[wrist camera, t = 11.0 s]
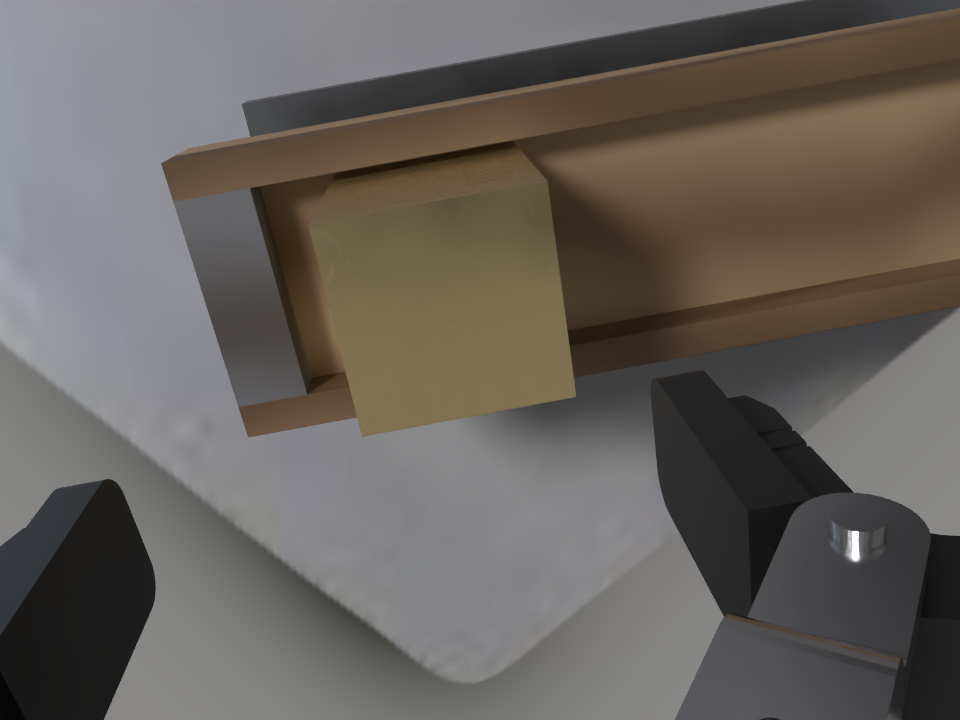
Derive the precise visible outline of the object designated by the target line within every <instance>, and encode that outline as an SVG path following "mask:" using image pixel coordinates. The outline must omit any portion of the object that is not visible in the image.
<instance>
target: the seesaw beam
mask: <svg viewBox="0 0 960 720" xmlns="http://www.w3.org/2000/svg"><path fill="white" fill-rule="evenodd" d="M508 143H515V144H516V146H517V147H518V148H519V149H520V150H521V151H522V152H523V154H524V155H525V156H526V157H527V158H528V159H529V160H530V162H531V163H532V164H533V165H534V166H535V167H536V168H537V170H538V171H539V172H540V173H541V174H542V175H543V176H544V178H545V179H546V180H547V182H548V189H549V197H550V204H551V212H552V219H553V227H554V234H555V241H556V249H557V256H558V264H559V271H560V279H561V286H562V294H563V301H564V309H565V316H566V324H567V331H568V338H569V346H570V353H571V361H572V368H573V376H574V377H578V376H584V375H589V374H594V373H600V372H605V371H611V370H616V369H622V368H627V367H632V366H638V365H643V364H649V363H654V362H659V361H665V360H670V359H676V358H681V357H687V356H692V355H697V354H703V353H708V352H714V351H719V350H725V349H730V348H735V347H741V346H746V345H752V344H757V343H762V342H768V341H773V340H779V339H784V338H790V337H795V336H800V335H806V334H811V333H817V332H822V331H828V330H833V329H838V328H844V327H849V326H855V325H860V324H865V323H871V322H876V321H882V320H887V319H893V318H898V317H903V316H909V315H914V314H920V313H925V312H931V311H936V310H941V309H947V308H952V307H958V306H960V8H957V9H951V10H946V11H940V12H935V13H929V14H924V15H918V16H913V17H907V18H902V19H896V20H891V21H885V22H880V23H874V24H869V25H863V26H858V27H852V28H847V29H842V30H836V31H831V32H825V33H820V34H814V35H809V36H803V37H798V38H792V39H787V40H781V41H776V42H770V43H765V44H759V45H754V46H748V47H743V48H737V49H732V50H726V51H721V52H715V53H710V54H704V55H699V56H693V57H688V58H682V59H677V60H671V61H666V62H660V63H655V64H649V65H644V66H638V67H633V68H627V69H622V70H616V71H611V72H605V73H600V74H594V75H589V76H583V77H578V78H572V79H567V80H561V81H556V82H550V83H545V84H539V85H534V86H528V87H523V88H517V89H512V90H506V91H501V92H495V93H490V94H484V95H479V96H473V97H468V98H462V99H457V100H451V101H446V102H440V103H435V104H429V105H424V106H418V107H413V108H407V109H402V110H396V111H391V112H385V113H380V114H374V115H369V116H363V117H358V118H352V119H347V120H341V121H336V122H330V123H325V124H319V125H314V126H308V127H303V128H297V129H292V130H286V131H281V132H275V133H270V134H264V135H259V136H253V137H248V138H242V139H237V140H231V141H226V142H220V143H215V144H209V145H204V146H198V147H193V148H189V149H187V150H185V151H183V152H181V153H180V154H178V155H176V156H174V157H172V158H170V159H168V160H167V161H165V162H163V163H161V164H162V167H163V170H164V173H165V177H166V180H167V183H168V186H169V189H170V192H171V195H172V199H173V202H174V205H175V208H176V211H177V214H178V218H179V221H180V224H181V227H182V230H183V233H184V236H185V240H186V243H187V246H188V249H189V252H190V255H191V258H192V262H193V265H194V268H195V271H196V274H197V277H198V281H199V284H200V287H201V290H202V293H203V296H204V299H205V303H206V306H207V309H208V312H209V315H210V318H211V321H212V325H213V328H214V331H215V334H216V337H217V340H218V344H219V347H220V350H221V353H222V356H223V359H224V362H225V366H226V369H227V372H228V375H229V378H230V381H231V384H232V388H233V391H234V394H235V397H236V400H237V403H238V407H239V410H240V413H241V416H242V419H243V422H244V425H245V429H246V432H247V435H248V437H253V436H258V435H264V434H269V433H275V432H280V431H285V430H291V429H296V428H302V427H307V426H313V425H318V424H323V423H329V422H334V421H340V420H345V419H351V418H356V417H357V415H356V411H355V407H354V403H353V399H352V395H351V391H350V387H349V383H348V379H347V376H346V372H345V368H344V364H343V360H342V356H341V352H340V348H339V344H338V340H337V336H336V332H335V329H334V325H333V321H332V317H331V313H330V309H329V305H328V301H327V297H326V293H325V289H324V286H323V282H322V278H321V274H320V270H319V266H318V262H317V258H316V254H315V250H314V246H313V243H312V239H311V235H310V231H309V227H308V224H309V222H310V220H311V218H312V216H313V215H314V213H315V211H316V209H317V207H318V205H319V203H320V201H321V200H322V198H323V196H324V194H325V192H326V190H327V188H328V186H329V185H330V183H331V181H332V179H333V177H334V175H340V174H345V173H351V172H356V171H361V170H367V169H372V168H378V167H383V166H389V165H394V164H400V163H405V162H410V161H416V160H421V159H427V158H432V157H438V156H443V155H449V154H454V153H459V152H465V151H470V150H476V149H481V148H487V147H492V146H498V145H503V144H508Z"/></svg>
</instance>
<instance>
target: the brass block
mask: <svg viewBox="0 0 960 720" xmlns="http://www.w3.org/2000/svg"><path fill="white" fill-rule="evenodd" d="M308 227H309V231H310V235H311V239H312V243H313V246H314V250H315V254H316V258H317V262H318V266H319V270H320V274H321V278H322V282H323V286H324V289H325V293H326V297H327V301H328V305H329V309H330V313H331V317H332V321H333V325H334V329H335V332H336V336H337V340H338V344H339V348H340V352H341V356H342V360H343V364H344V368H345V372H346V376H347V379H348V383H349V387H350V391H351V395H352V399H353V403H354V407H355V411H356V415H357V419H358V422H359V426H360V430H361V434H362V437H363V436H369V435H374V434H380V433H385V432H390V431H396V430H401V429H407V428H412V427H417V426H423V425H428V424H433V423H439V422H444V421H450V420H455V419H460V418H466V417H471V416H477V415H482V414H487V413H493V412H498V411H503V410H509V409H514V408H520V407H525V406H530V405H536V404H541V403H546V402H552V401H557V400H563V399H568V398H573V397H576V391H575V383H574V376H573V368H572V361H571V353H570V346H569V338H568V331H567V324H566V316H565V309H564V301H563V294H562V286H561V279H560V271H559V264H558V256H557V249H556V241H555V234H554V227H553V219H552V212H551V204H550V197H549V189H548V182H547V180H546V179H545V178H544V176H543V175H542V174H541V173H540V172H539V171H538V170H537V168H536V167H535V166H534V165H533V164H532V163H531V162H530V160H529V159H528V158H527V157H526V156H525V155H524V154H523V152H522V151H521V150H520V149H519V148H518V147H517V146H516V144H515V143H508V144H503V145H498V146H492V147H487V148H481V149H476V150H470V151H465V152H459V153H454V154H449V155H443V156H438V157H432V158H427V159H421V160H416V161H410V162H405V163H400V164H394V165H389V166H383V167H378V168H372V169H367V170H361V171H356V172H351V173H345V174H340V175H334V177H333V179H332V181H331V183H330V185H329V186H328V188H327V190H326V192H325V194H324V196H323V198H322V200H321V201H320V203H319V205H318V207H317V209H316V211H315V213H314V215H313V216H312V218H311V220H310V222H309V224H308Z"/></svg>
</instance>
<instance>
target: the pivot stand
mask: <svg viewBox="0 0 960 720" xmlns="http://www.w3.org/2000/svg"><path fill="white" fill-rule="evenodd" d="M957 8H960V0H802V1H796V2H791V3H785V4H780V5H775V6H769V7H764V8H758V9H753V10H747V11H742V12H736V13H731V14H725V15H720V16H714V17H709V18H703V19H698V20H692V21H687V22H681V23H676V24H670V25H665V26H659V27H654V28H648V29H643V30H637V31H632V32H626V33H621V34H615V35H610V36H604V37H599V38H593V39H588V40H582V41H577V42H571V43H566V44H560V45H555V46H549V47H544V48H538V49H533V50H527V51H522V52H516V53H511V54H505V55H500V56H494V57H489V58H483V59H478V60H472V61H467V62H461V63H456V64H450V65H445V66H439V67H434V68H428V69H423V70H417V71H412V72H406V73H401V74H395V75H390V76H384V77H379V78H373V79H368V80H362V81H357V82H351V83H346V84H340V85H335V86H330V87H324V88H319V89H313V90H308V91H302V92H297V93H291V94H286V95H280V96H275V97H269V98H264V99H258V100H253V101H247V102H245V103H243V104H242V107H243V110H244V114H245V118H246V121H247V125H248V129H249V132H250V136H251V137H253V136H259V135H264V134H270V133H275V132H281V131H286V130H292V129H297V128H303V127H308V126H314V125H319V124H325V123H330V122H336V121H341V120H347V119H352V118H358V117H363V116H369V115H374V114H380V113H385V112H391V111H396V110H402V109H407V108H413V107H418V106H424V105H429V104H435V103H440V102H446V101H451V100H457V99H462V98H468V97H473V96H479V95H484V94H490V93H495V92H501V91H506V90H512V89H517V88H523V87H528V86H534V85H539V84H545V83H550V82H556V81H561V80H567V79H572V78H578V77H583V76H589V75H594V74H600V73H605V72H611V71H616V70H622V69H627V68H633V67H638V66H644V65H649V64H655V63H660V62H666V61H671V60H677V59H682V58H688V57H693V56H699V55H704V54H710V53H715V52H721V51H726V50H732V49H737V48H743V47H748V46H754V45H759V44H765V43H770V42H776V41H781V40H787V39H792V38H798V37H803V36H809V35H814V34H820V33H825V32H831V31H836V30H842V29H847V28H852V27H858V26H863V25H869V24H874V23H880V22H885V21H891V20H896V19H902V18H907V17H913V16H918V15H924V14H929V13H935V12H940V11H946V10H951V9H957Z"/></svg>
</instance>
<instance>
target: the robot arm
mask: <svg viewBox="0 0 960 720" xmlns="http://www.w3.org/2000/svg"><path fill="white" fill-rule="evenodd" d="M651 401H652V412H653V424H654V435H655V446H656V458H657V469H658V477H659V482H660V487H661V491H662V495H663V498H664V501H665V504H666V507H667V509H668V512H669V514H670V516H671V517H672V519H673V521H674V523H675V525H676V527H677V529H678V531H679V533H680V534H681V536H682V538H683V540H684V542H685V544H686V546H687V548H688V550H689V551H690V553H691V555H692V557H693V559H694V561H695V562H696V565H697V566H698V568H699V570H700V572H701V574H702V576H703V578H704V580H705V582H706V583H707V585H708V587H709V589H710V591H711V593H712V595H713V597H714V598H715V600H716V602H717V604H718V606H719V608H720V610H721V612H722V613H723V615H724V618H723V620H722V621H721V623H720V625H719V627H718V629H717V631H716V633H715V635H714V638H713V639H712V641H711V644H710V646H709V648H708V650H707V652H706V654H705V656H704V659H703V661H702V663H701V665H700V667H699V669H698V671H697V673H696V676H695V678H694V680H693V682H692V684H691V686H690V688H689V691H688V693H687V695H686V697H685V699H684V701H683V703H682V705H681V708H680V710H679V712H678V714H677V716H676V718H675V720H960V536H948V535H938V534H931V533H930V532H929V528H928V527H927V525H926V524H925V522H924V521H923V520H922V519H921V518H920V517H919V516H918V515H917V514H916V513H914V512H913V511H912V510H910V509H909V508H907V507H905V506H903V505H902V504H899V503H897V502H895V501H892V500H889V499H886V498H883V497H879V496H874V495H870V494H862V493H854V492H853V491H852V490H851V489H850V488H849V487H848V486H847V485H846V484H845V483H844V482H843V481H842V480H841V479H840V478H839V477H838V475H837V474H836V473H835V472H834V471H833V470H832V469H831V468H830V467H829V466H828V465H827V464H826V463H825V462H824V461H823V460H822V459H821V458H820V456H819V455H818V454H817V453H816V452H815V451H814V450H813V449H812V448H811V447H810V446H808V447H807V445H806V442H805V441H804V439H803V438H802V437H801V436H800V435H799V434H798V433H797V432H796V431H792V427H791V426H790V425H789V424H788V423H787V421H786V420H785V419H784V418H783V417H782V416H781V415H780V414H779V413H778V412H777V411H776V410H775V409H774V408H772V407H770V406H768V405H765V404H763V403H761V402H759V401H757V400H754V399H752V398H750V397H748V396H746V395H745V396H740V397H734V398H729V399H728V398H727V397H726V396H725V395H724V393H723V392H722V391H721V390H720V389H719V388H718V386H717V385H716V384H715V383H714V382H713V380H712V379H711V378H710V377H709V376H708V375H707V373H706V372H705V371H703V370H701V371H695V372H690V373H685V374H679V375H674V376H668V377H663V378H658V379H653V381H652V384H651ZM155 589H156V588H155V575H154V571H153V566H152V563H151V560H150V558H149V556H148V553H147V551H146V548H145V546H144V543H143V541H142V538H141V536H140V533H139V531H138V528H137V526H136V523H135V521H134V518H133V516H132V514H131V511H130V508H129V506H128V504H127V501H126V499H125V496H124V494H123V492H122V490H121V488H120V487H119V485H118V484H117V483H116V482H115V481H113V480H111V479H106V480H101V481H95V482H90V483H85V484H79V485H74V486H68V487H63V488H58V489H56V490H54V491H53V493H52V494H51V495H50V497H49V498H48V499H47V500H46V502H45V503H44V504H43V506H42V507H41V508H40V510H39V511H38V512H37V514H36V515H35V516H34V518H33V519H32V520H31V522H30V523H29V524H28V525H27V527H26V528H24V529H22V530H21V531H19V532H18V533H17V534H16V535H14V536H13V537H12V538H11V539H9V540H8V541H7V542H5V543H4V544H3V545H2V546H0V720H104V718H105V715H106V713H107V711H108V708H109V706H110V704H111V702H112V699H113V697H114V694H115V692H116V690H117V688H118V685H119V683H120V681H121V678H122V676H123V674H124V672H125V669H126V667H127V665H128V662H129V660H130V658H131V656H132V653H133V651H134V649H135V646H136V644H137V642H138V640H139V637H140V635H141V633H142V630H143V628H144V626H145V623H146V621H147V619H148V617H149V614H150V612H151V610H152V607H153V603H154V600H155Z"/></svg>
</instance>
